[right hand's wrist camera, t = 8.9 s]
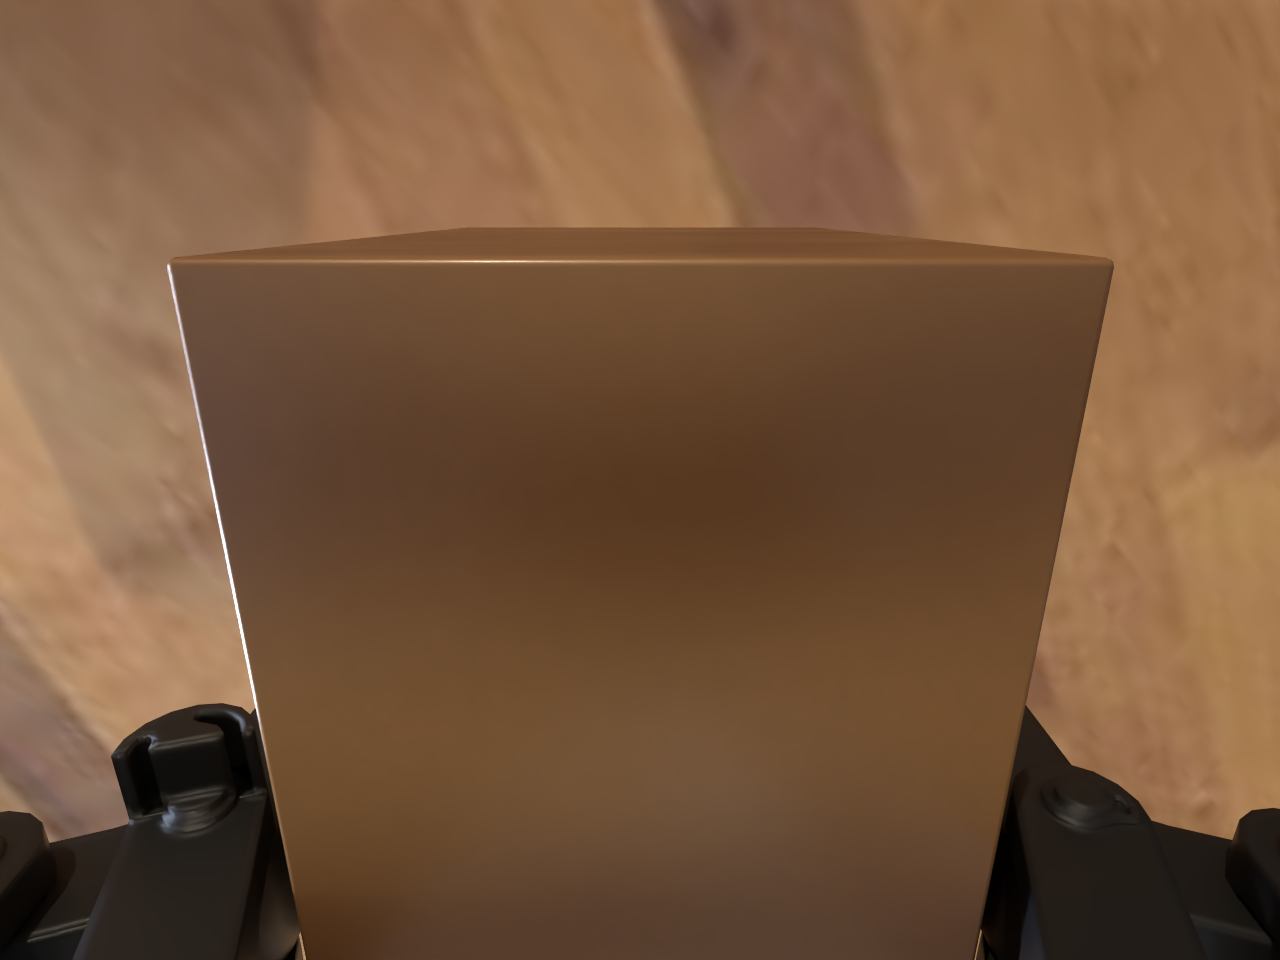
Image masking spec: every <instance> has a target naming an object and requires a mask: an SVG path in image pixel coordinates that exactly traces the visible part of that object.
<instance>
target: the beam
mask: <svg viewBox="0 0 1280 960" xmlns="http://www.w3.org/2000/svg"><path fill="white" fill-rule="evenodd" d="M167 269H168V274H169V279H170V284H171V289H172V294H173V298H174V303H175V308H176V313H177V318H178V323H179V328H180V333H181V338H182V343H183V348H184V353H185V358H186V363H187V368H188V373H189V378H190V383H191V388H192V393H193V398H194V403H195V408H196V413H197V418H198V423H199V428H200V433H201V438H202V443H203V448H204V453H205V458H206V463H207V468H208V473H209V478H210V483H211V488H212V493H213V497H214V502H215V507H216V512H217V517H218V522H219V527H220V532H221V537H222V542H223V547H224V552H225V557H226V562H227V567H228V572H229V577H230V582H231V587H232V592H233V597H234V602H235V607H236V612H237V617H238V622H239V627H240V632H241V637H242V642H243V647H244V652H245V657H246V662H247V667H248V672H249V677H250V682H251V687H252V691H253V696H254V701H255V706H256V711H257V716H258V721H259V726H260V731H261V736H262V741H263V746H264V751H265V756H266V761H267V766H268V771H269V776H270V781H271V786H272V791H273V796H274V801H275V806H276V811H277V816H278V821H279V826H280V831H281V836H282V841H283V846H284V851H285V856H286V861H287V866H288V871H289V876H290V881H291V886H292V890H293V895H294V900H295V905H296V910H297V915H298V920H299V925H300V930H301V935H302V940H303V945H304V950H305V955H306V960H974V958H975V953H976V948H977V943H978V938H979V933H980V929H981V924H982V919H983V914H984V909H985V904H986V899H987V894H988V889H989V884H990V879H991V874H992V869H993V864H994V859H995V854H996V849H997V844H998V839H999V834H1000V829H1001V824H1002V819H1003V814H1004V809H1005V805H1006V800H1007V795H1008V790H1009V785H1010V780H1011V775H1012V770H1013V765H1014V760H1015V755H1016V750H1017V745H1018V740H1019V735H1020V730H1021V725H1022V720H1023V715H1024V710H1025V705H1026V700H1027V695H1028V690H1029V685H1030V680H1031V676H1032V671H1033V666H1034V661H1035V656H1036V651H1037V646H1038V641H1039V636H1040V631H1041V626H1042V621H1043V616H1044V611H1045V606H1046V601H1047V596H1048V591H1049V586H1050V581H1051V576H1052V571H1053V566H1054V561H1055V556H1056V552H1057V547H1058V542H1059V537H1060V532H1061V527H1062V522H1063V517H1064V512H1065V507H1066V502H1067V497H1068V492H1069V487H1070V482H1071V477H1072V472H1073V467H1074V462H1075V457H1076V452H1077V447H1078V442H1079V437H1080V432H1081V428H1082V423H1083V418H1084V413H1085V408H1086V403H1087V398H1088V393H1089V388H1090V383H1091V378H1092V373H1093V368H1094V363H1095V358H1096V353H1097V348H1098V343H1099V338H1100V333H1101V328H1102V323H1103V318H1104V313H1105V308H1106V304H1107V299H1108V294H1109V289H1110V284H1111V279H1112V274H1113V269H1114V265H1113V261H1112V260H1110V259H1108V258H1105V257H1095V256H1085V255H1076V254H1066V253H1056V252H1046V251H1037V250H1027V249H1017V248H1007V247H997V246H988V245H978V244H968V243H958V242H949V241H939V240H929V239H919V238H909V237H900V236H890V235H880V234H870V233H861V232H851V231H841V230H831V229H821V228H459V229H449V230H439V231H430V232H420V233H410V234H400V235H390V236H381V237H371V238H361V239H351V240H341V241H332V242H322V243H312V244H302V245H293V246H283V247H273V248H263V249H253V250H244V251H234V252H224V253H214V254H205V255H195V256H185V257H175V258H173V259H171V260H169V261H168V265H167Z"/></svg>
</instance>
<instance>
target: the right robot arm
mask: <svg viewBox="0 0 1280 960" xmlns="http://www.w3.org/2000/svg"><path fill="white" fill-rule="evenodd" d="M111 758H112V762H113V765H114V768H115V772H116V775H117V779H118V782H119V785H120V789H121V792H122V796H123V799H124V802H125V806H126V809H127V812H128V816H129V819H130V820H129V823H128V824H127V825H123V826H120V827H117V828H113V829H109V830H105V831H101V832H96V833H92V834H87V835H83V836H79V837H74V838H70V839H66V840H61V841H57V842H52V843H49V841H48V838H47V835H46V832H45V829H44V826H43V823H42V822H41V821H39V820H38V819H37V818H35V817H34V816H33V815H32V814H30V813H22V812H13V811H6V812H0V960H303V954H302V947H301V943H300V938H299V934H300V931H301V930H300V925H299V920H298V915H297V910H296V905H295V900H294V895H293V890H292V886H291V881H290V876H289V871H288V866H287V861H286V856H285V851H284V846H283V841H282V836H281V831H280V826H279V821H278V816H277V811H276V806H275V801H274V796H273V791H272V786H271V781H270V776H269V771H268V766H267V761H266V756H265V751H264V746H263V741H262V736H261V731H260V726H259V721H258V716H257V711H256V708H255V709H254V710H253V712H252V713H251V714H249V713H248V712H247V711H245V710H244V709H243V708H242V707H238V706H233V705H228V704H224V703H219V704H203V705H196V706H192V707H188V708H184V709H180V710H177V711H173V712H170V713H168V714H166V715H163V716H161V717H159V718H157V719H155V720H153V721H150V722H148V723H146V724H144V725H143V726H142V727H140V728H139V729H137V730H136V731H135V732H133V733H132V734H130V735H129V736H128V737H126V738H125V739H124V740H123V741H122V742H121V744H120V745H119V746H118V747H117V749H116V750H115V751H114V752H113V754H112V755H111ZM981 931H982V933H981V938H980V943H979V947H978V952H977V957H976V960H1280V809H1277V808H1268V809H1259V810H1251V811H1250V812H1249V813H1248V814H1246V815H1245V816H1244V817H1242V818H1241V819H1240V820H1239V823H1238V826H1237V829H1236V832H1235V834H1234V837H1233V840H1229V839H1225V838H1220V837H1216V836H1212V835H1207V834H1203V833H1198V832H1194V831H1190V830H1185V829H1181V828H1176V827H1172V826H1168V825H1165V824H1161V823H1158V822H1155V821H1151V819H1150V818H1149V816H1148V815H1147V813H1146V812H1145V810H1144V809H1143V807H1142V806H1141V804H1140V803H1139V801H1138V800H1136V799H1135V798H1134V797H1133V796H1131V795H1130V794H1129V793H1128V792H1127V791H1125V790H1124V789H1123V788H1122V787H1120V786H1119V785H1118V784H1116V783H1114V782H1112V781H1110V780H1108V779H1106V778H1105V777H1103V776H1101V775H1099V774H1097V773H1095V772H1093V771H1089V770H1086V769H1083V768H1079V767H1076V766H1072V765H1071V764H1070V763H1069V761H1068V760H1067V759H1066V757H1065V756H1064V755H1063V753H1062V752H1061V751H1060V749H1059V748H1058V747H1057V746H1056V744H1055V743H1054V742H1053V740H1052V739H1051V738H1050V736H1049V735H1048V734H1047V732H1046V731H1045V730H1044V728H1043V727H1042V726H1041V725H1040V723H1039V722H1038V721H1037V719H1036V718H1035V717H1034V715H1033V714H1032V713H1031V711H1030V710H1029V709H1028V708H1027V706H1026V705H1025V710H1024V715H1023V720H1022V725H1021V730H1020V735H1019V740H1018V745H1017V750H1016V755H1015V760H1014V765H1013V770H1012V775H1011V780H1010V785H1009V790H1008V795H1007V800H1006V805H1005V809H1004V814H1003V819H1002V824H1001V829H1000V834H999V839H998V844H997V849H996V854H995V859H994V864H993V869H992V874H991V879H990V884H989V889H988V894H987V899H986V904H985V909H984V914H983V919H982V924H981Z"/></svg>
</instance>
